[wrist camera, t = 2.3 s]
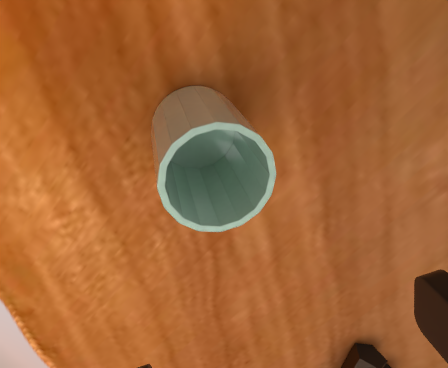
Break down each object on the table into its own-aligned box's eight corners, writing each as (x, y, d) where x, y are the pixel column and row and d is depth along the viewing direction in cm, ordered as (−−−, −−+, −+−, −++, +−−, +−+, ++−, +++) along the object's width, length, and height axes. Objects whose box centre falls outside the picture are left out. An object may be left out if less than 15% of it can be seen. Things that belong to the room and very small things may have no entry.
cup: (227, 74, 28) (264, 107, 20) (245, 156, 31) (283, 212, 23) (139, 99, 28) (141, 143, 20) (165, 179, 31) (176, 245, 23)
